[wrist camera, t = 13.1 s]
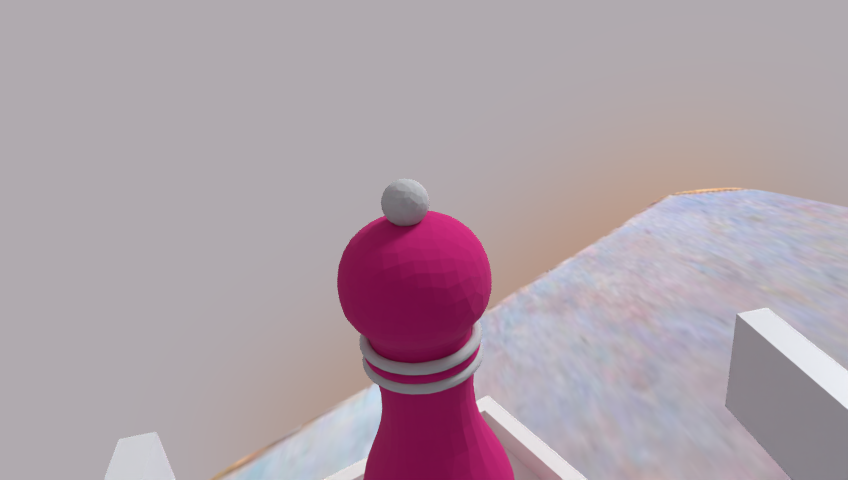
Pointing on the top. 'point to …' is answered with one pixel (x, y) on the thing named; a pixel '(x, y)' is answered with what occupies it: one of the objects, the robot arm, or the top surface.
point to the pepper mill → (422, 339)
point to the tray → (529, 456)
